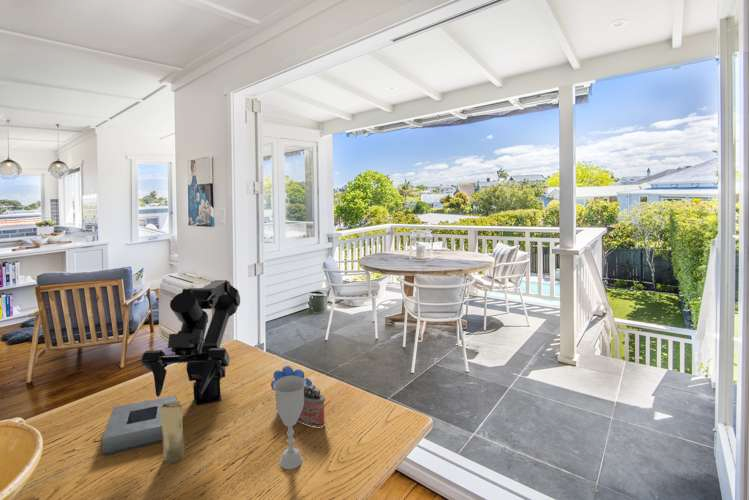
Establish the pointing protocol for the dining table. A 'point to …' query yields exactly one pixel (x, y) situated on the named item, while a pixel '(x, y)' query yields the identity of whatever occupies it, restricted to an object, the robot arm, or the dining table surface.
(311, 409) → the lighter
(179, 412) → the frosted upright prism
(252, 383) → the dining table surface
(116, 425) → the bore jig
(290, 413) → the chalice
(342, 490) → the dining table surface
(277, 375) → the grapes
